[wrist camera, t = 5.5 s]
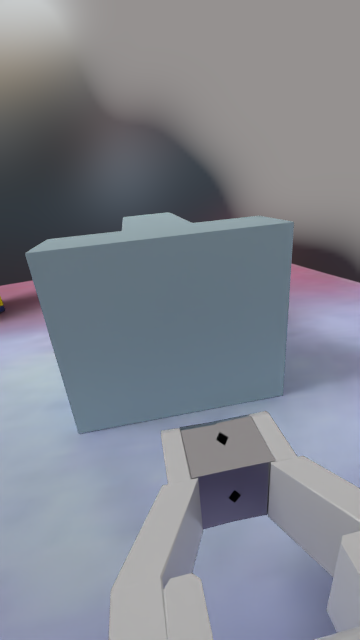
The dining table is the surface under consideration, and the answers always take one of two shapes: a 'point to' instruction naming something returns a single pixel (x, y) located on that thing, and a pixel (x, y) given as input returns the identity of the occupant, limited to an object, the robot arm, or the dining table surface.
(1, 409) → the dining table surface
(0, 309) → the supplement box
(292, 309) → the dining table surface
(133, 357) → the blue block with tab
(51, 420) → the dining table surface
